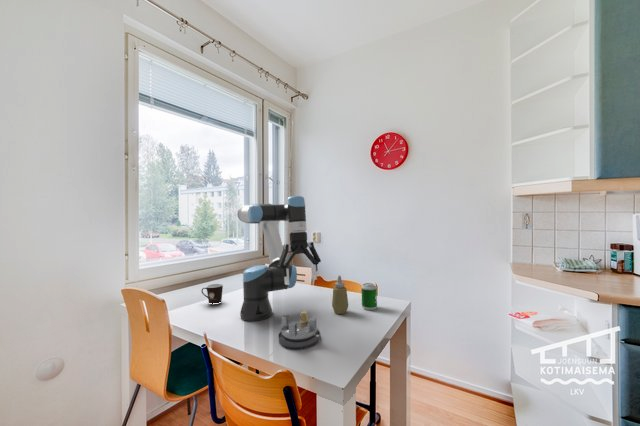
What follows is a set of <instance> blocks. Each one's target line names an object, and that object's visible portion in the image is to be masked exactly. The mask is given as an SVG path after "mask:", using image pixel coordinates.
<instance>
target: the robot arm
mask: <svg viewBox="0 0 640 426" xmlns="http://www.w3.org/2000/svg"><path fill="white" fill-rule="evenodd" d="M286 203H287V204H285V203H284V204H276V203H249V204H244V205H242V206H240V207H239V208H238V210H237V214H236V215H237V218H238V219H239V221H241V222H243V223H245V224H258V226H259V228H260V229H261V230H262V233H263V236H264V237H263V238H264V240H265V241H264V242H265V246H266V250H267V254H268V255H267V256H268V257H269V262H270V263H269V264H268V266H267V265H265V264H262V265H253V266H252V267H251V266H250V267H248V268H246V269H245V270H244V271H243V273H242V275H243V276H242V283H243V284H242V286H243V288H242V289H243V302H242V304H241V308H240V312H239V315H240V317H241V318H240V319H241V320H243V321H247V322H257V321H261V320H266V319H267V318H270V317H271V316H272V315H273V307H272V306H271V303H270V300H269V299H270V298H269V293H270V292H277V291H283V290H287V289H292V288H294V287H295V286H296V283H297V280H298V272H297V266H296V265H294V264H291V261H292V260H293V259H294V256H296V255H299V254H303V255H305V256H306V258H307V259H308V260H309V261H310V262H311V265H310V267H311V268H310V269H311V270H310V271H311V279H312V280H314V281H315V280H318V278H317V277H318V275H317V272H318V265H319V264H320V263H321V258H320V255H319V254H318V252H317V250H316V248H315V244H314V242H313V241H309V242H308V233H307V218H306V217H307V215H306V202H305V198H304V196H302V195H293V196H288V198H287V202H286ZM280 221H281V222H282V221H283V222H288V230H289V231H288V232H290V233H289V243H290V244H287V243H284V244H283V242H282V238H281V234H280V231H279V227H278V226H279V222H280ZM289 250H290V251H289ZM288 253H289V254H288ZM287 255H288V256H287Z"/></svg>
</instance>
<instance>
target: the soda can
mask: <svg viewBox="0 0 640 426" xmlns="http://www.w3.org/2000/svg"><path fill="white" fill-rule="evenodd" d="M360 287H361V307H362V308H363V310H366V311H375V310H376V309H377V307H378V293H377V291H378V290H377V286H376V284H374V283H372V282H371V283H370V282H366V283H363V284H362V285H361V286H360Z"/></svg>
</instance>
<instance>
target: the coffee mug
mask: <svg viewBox="0 0 640 426" xmlns="http://www.w3.org/2000/svg"><path fill="white" fill-rule="evenodd" d="M223 288H224V285H223V283H211V284H208V285H206V287H202V288H201V294H202V295H203V296H204V297H206V298H207V300H208V304H209V303H212V304H213V303H219V302H221V303H222V299H223ZM203 290H206V292H207V295H206V294H205V293H204V292H203Z"/></svg>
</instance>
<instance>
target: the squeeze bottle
mask: <svg viewBox="0 0 640 426" xmlns="http://www.w3.org/2000/svg"><path fill="white" fill-rule="evenodd" d="M331 300H332V301H331V306H332V309H333V311H334V314H336V315H345V314H346V313H347V311H348V307H349V299H348V290H347V288H346V286H345V282H343V279H342V276H341V275H338V276H337V282H335V283H334V287H333V288H332V299H331Z"/></svg>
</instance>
